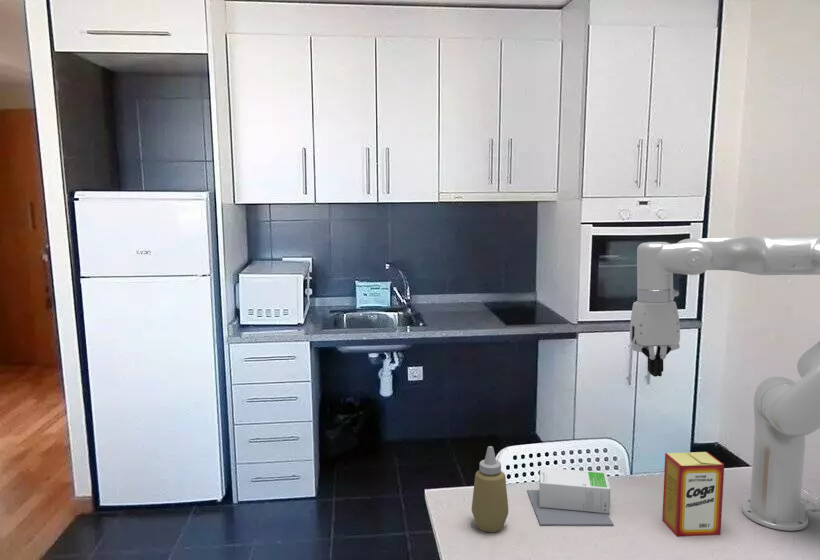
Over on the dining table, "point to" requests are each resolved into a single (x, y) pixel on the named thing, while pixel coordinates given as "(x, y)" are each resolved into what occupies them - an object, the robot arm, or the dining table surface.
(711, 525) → the baking soda box
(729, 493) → the dining table surface
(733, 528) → the dining table surface
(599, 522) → the mat
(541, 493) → the skincare box
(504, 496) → the squeeze bottle
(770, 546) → the dining table surface
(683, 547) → the dining table surface
